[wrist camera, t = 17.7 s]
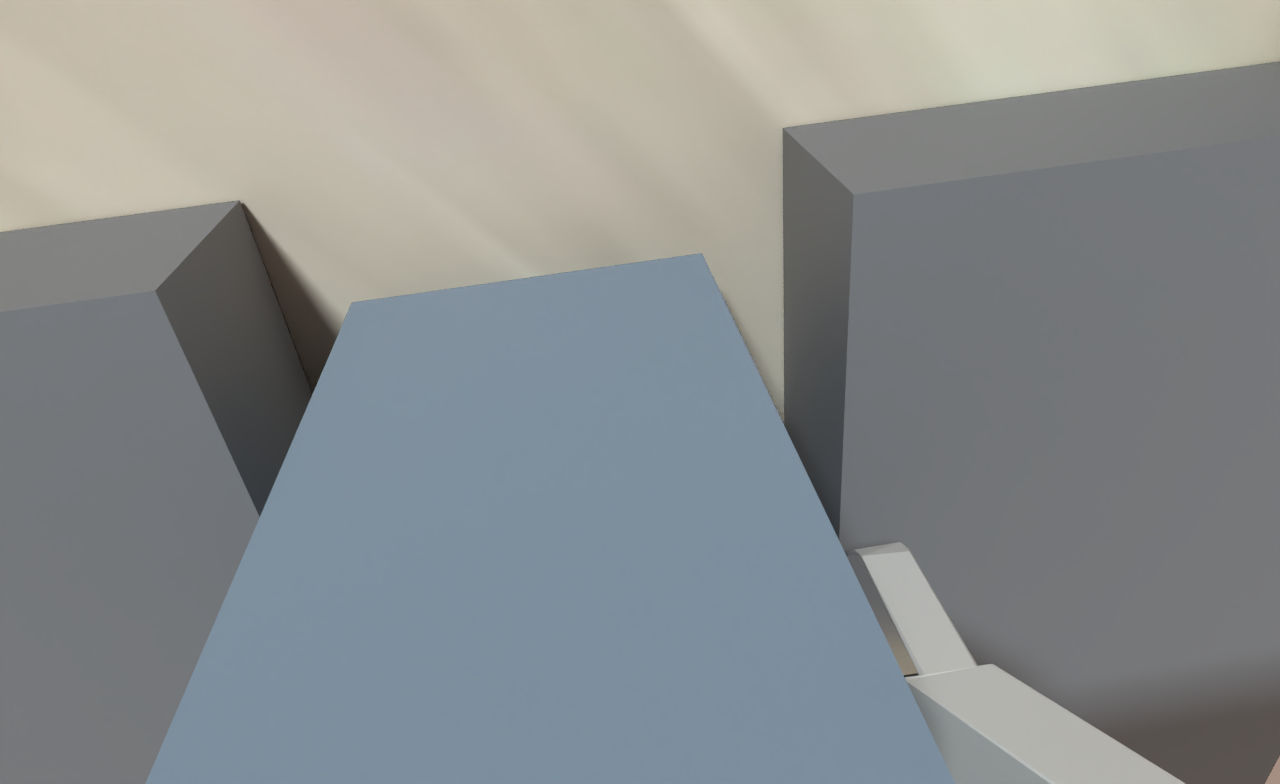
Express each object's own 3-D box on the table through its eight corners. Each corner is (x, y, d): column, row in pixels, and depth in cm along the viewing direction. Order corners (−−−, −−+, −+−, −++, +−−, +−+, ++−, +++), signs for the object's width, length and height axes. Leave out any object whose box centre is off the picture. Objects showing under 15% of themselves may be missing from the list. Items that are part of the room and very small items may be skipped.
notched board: (54, 864, 15) (-22, 1020, 13) (-469, 294, 9) (-774, 418, 7) (1164, 679, 16) (1258, 795, 14) (1402, 45, 10) (1637, 86, 8)
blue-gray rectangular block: (466, 657, 12) (408, 1364, 6) (352, 303, 9) (24, 1063, 3) (725, 615, 12) (901, 1266, 7) (701, 252, 9) (1003, 886, 3)
